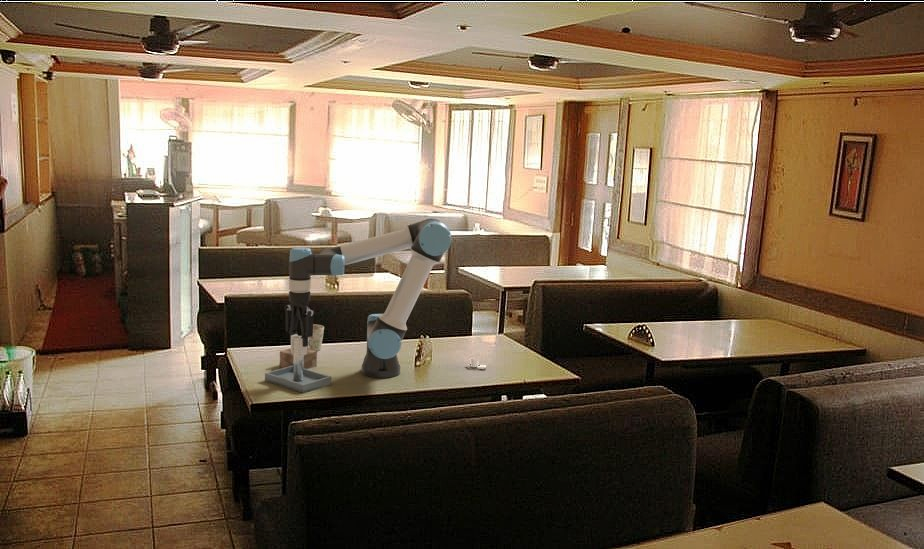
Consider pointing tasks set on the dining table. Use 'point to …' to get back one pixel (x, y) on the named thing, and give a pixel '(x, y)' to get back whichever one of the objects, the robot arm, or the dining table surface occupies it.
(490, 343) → the dining table surface
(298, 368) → the steel pin
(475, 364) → the teacup and saucer
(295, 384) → the slate tray
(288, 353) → the wooden hollow square frame
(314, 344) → the mug
